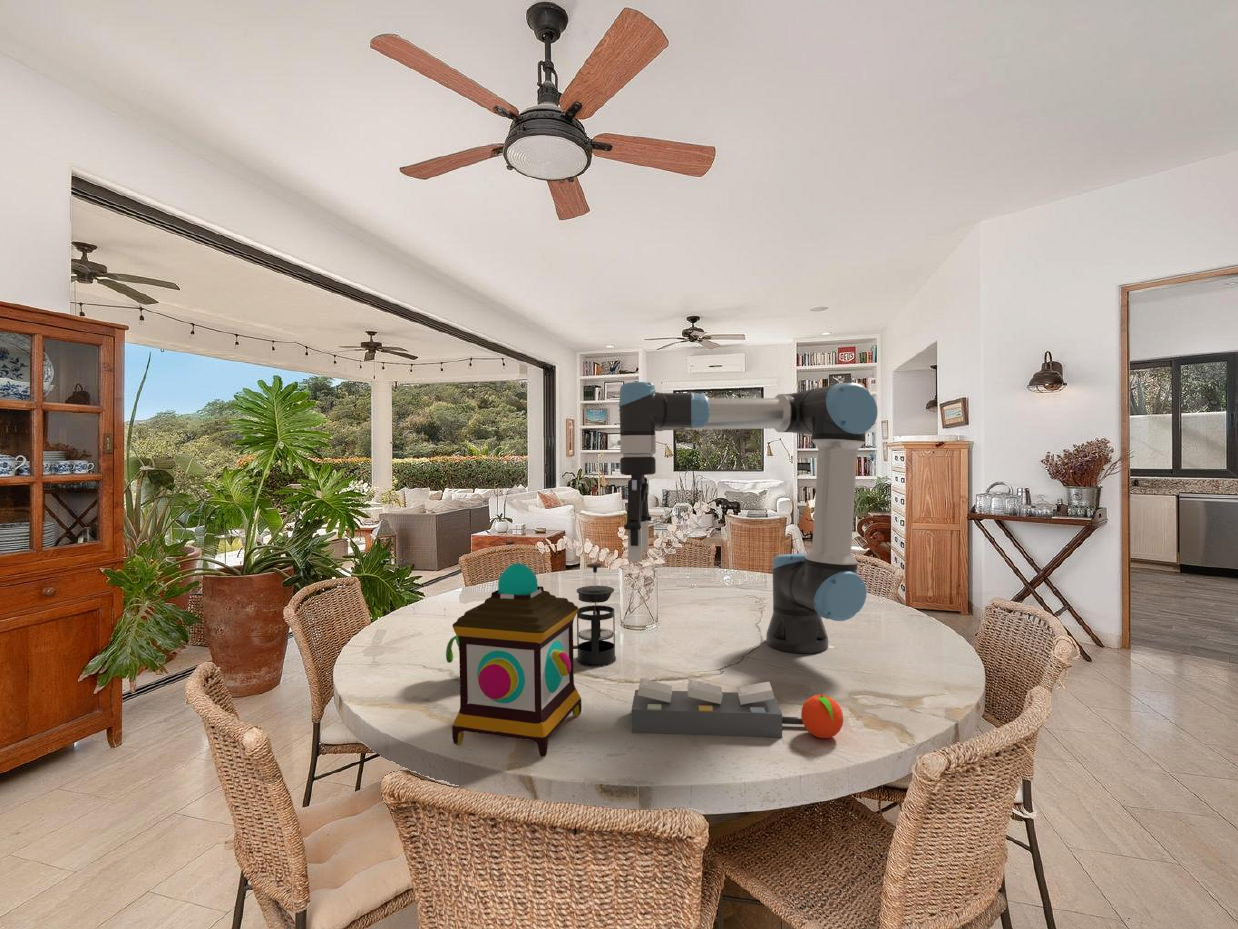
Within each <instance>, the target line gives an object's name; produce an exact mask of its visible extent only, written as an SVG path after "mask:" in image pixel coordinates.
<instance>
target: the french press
mask: <svg viewBox="0 0 1238 929" xmlns="http://www.w3.org/2000/svg"><path fill="white" fill-rule="evenodd" d="M585 567H586V568H592V571H593V573H594V576H593V577H594V580H593V581H594V585H587V586H581V587H579V588H577V589H576V593H577V594H578V600H579V601H580V602H583V603H589V604H593V603H594V605H587V606H581V607H578V611H577V614H576V628H577V629H576V633H577V634H576V639H577V641H576V642H577V645H573V650H577V651H576V652H577V657H576V662H577V664H579V665H581V666H585V667H590V666H593V667H592V668H594V666H600V667H604V666H603V665H606V666H609V665H608V664H610V663H612V664H613V662H614V663H615V662H616V661H617V656H616V637H615V636H616V634H615V632H616V631H615V630H616V625H615V624H616V622H615V608H614V607H612V606H609V605H599V604H598V603H605V602H607V601H608V600H609V599H610V598H611V596H612V593H614V591H615V588H613V587H611V586H607V585H597V573H598V568H603V567H605V565H604V564H603V563H600V562H599V563H589V564H586V565H585ZM597 604H598V605H597ZM587 612H592V614H587ZM601 612H607V613H602V614H601ZM584 613H586V614H584ZM610 619H613V620H612V621H613V622H612V623H613V626H612V627H613V628H612V630H611V629H608V628H601V621H606V620H610ZM579 620H584V621H590V628H586V629H583V630H579V629H580V628H579ZM611 638H613V642H611V641H608V640H609V639H611ZM580 639H581V640H584V642H581V643H580ZM610 665H611V664H610Z"/></svg>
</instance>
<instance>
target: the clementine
mask: <svg viewBox="0 0 1238 929" xmlns="http://www.w3.org/2000/svg"><path fill="white" fill-rule="evenodd" d="M800 717H802V722H803V724H804V725H803V726H804V728H805V729H806V731H808V733H810V734H811V735H813V736H814V737H817V738H819V739H830V738H833V737H835V736H836V735H837V734H838V733H840V731H841V730H842V728H843V725H844V715H843V711H842V708H841V706H840V705H839V704H838V703H837V701H835V699H833V698H831V697H830V696H828V695H825V694H816V695H812V696H810V697H809V698H807V699H806V700H805V702H804V703H803V705H802V707H801V712H800Z"/></svg>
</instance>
